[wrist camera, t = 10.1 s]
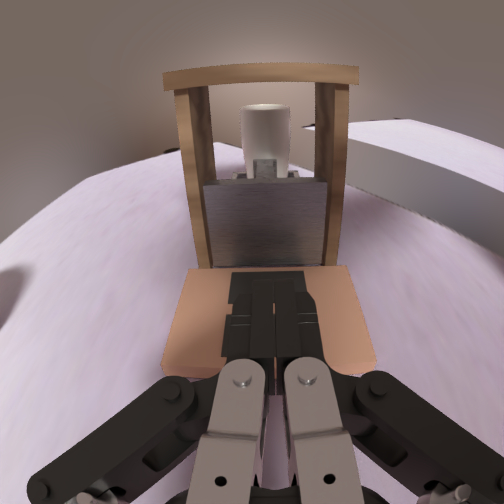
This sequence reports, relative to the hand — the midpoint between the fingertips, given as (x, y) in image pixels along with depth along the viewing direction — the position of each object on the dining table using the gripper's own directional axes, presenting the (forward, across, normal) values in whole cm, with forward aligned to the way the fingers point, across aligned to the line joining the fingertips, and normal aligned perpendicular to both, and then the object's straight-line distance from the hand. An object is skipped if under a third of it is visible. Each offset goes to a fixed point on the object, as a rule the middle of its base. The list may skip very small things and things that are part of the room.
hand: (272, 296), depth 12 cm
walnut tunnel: (+22, 0, +12) cm, 25 cm away
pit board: (+10, 0, +12) cm, 15 cm away
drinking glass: (+33, 0, +13) cm, 35 cm away
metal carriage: (+27, 0, +12) cm, 29 cm away
